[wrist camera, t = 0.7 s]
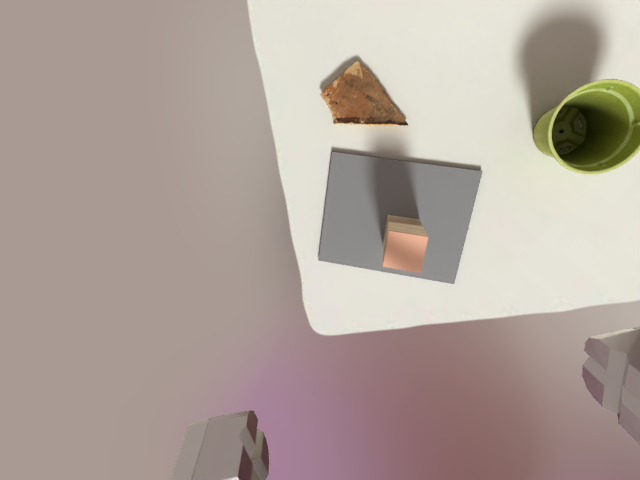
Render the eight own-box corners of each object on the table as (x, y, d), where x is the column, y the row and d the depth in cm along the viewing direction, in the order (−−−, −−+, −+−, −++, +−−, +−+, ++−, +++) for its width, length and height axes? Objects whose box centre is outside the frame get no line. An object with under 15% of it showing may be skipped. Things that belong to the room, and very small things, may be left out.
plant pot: (530, 180, 45) (562, 188, 37) (508, 112, 44) (538, 104, 36) (608, 151, 43) (662, 152, 35) (589, 78, 41) (640, 61, 33)
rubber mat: (332, 151, 49) (332, 151, 48) (481, 170, 46) (482, 171, 46) (319, 259, 54) (318, 260, 53) (453, 282, 51) (454, 284, 50)
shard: (407, 125, 47) (408, 124, 45) (363, 161, 49) (362, 161, 47) (359, 59, 46) (358, 56, 44) (316, 99, 48) (313, 97, 46)
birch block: (387, 214, 49) (389, 230, 40) (419, 219, 49) (428, 237, 39) (382, 244, 51) (382, 266, 41) (413, 249, 50) (420, 273, 40)
